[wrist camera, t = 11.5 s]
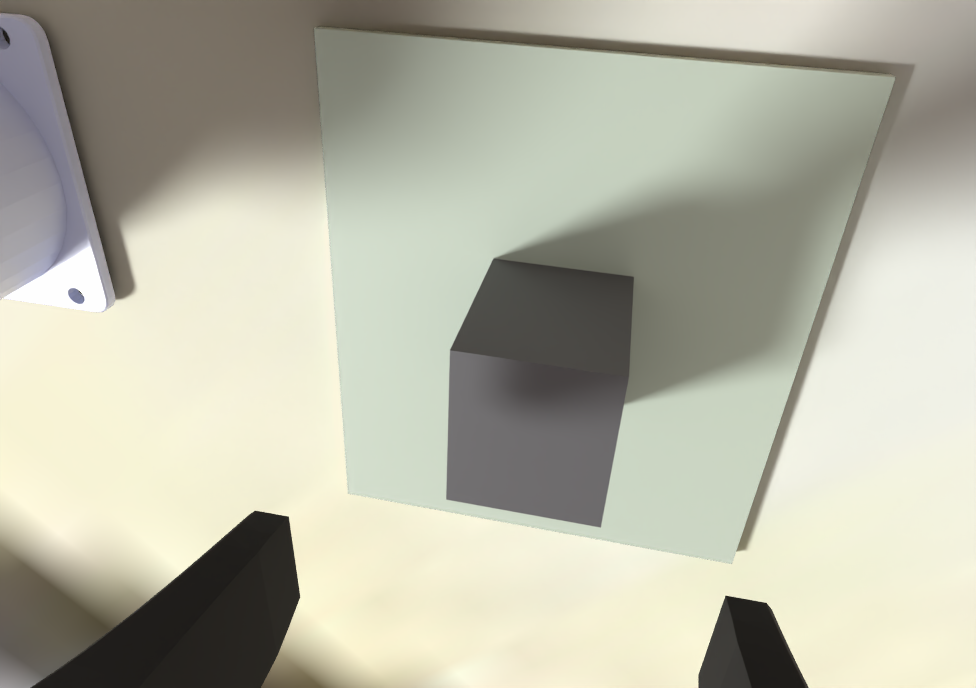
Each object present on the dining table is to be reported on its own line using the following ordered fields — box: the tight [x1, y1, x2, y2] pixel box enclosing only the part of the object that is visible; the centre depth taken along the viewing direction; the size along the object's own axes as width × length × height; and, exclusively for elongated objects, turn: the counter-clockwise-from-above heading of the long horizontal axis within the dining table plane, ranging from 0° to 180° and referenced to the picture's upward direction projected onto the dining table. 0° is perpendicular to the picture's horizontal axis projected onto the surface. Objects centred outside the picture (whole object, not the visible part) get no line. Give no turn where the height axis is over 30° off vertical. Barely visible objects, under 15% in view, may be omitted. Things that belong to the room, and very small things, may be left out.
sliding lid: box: [314, 26, 896, 564], centre depth 17 cm, size 12×14×6 cm
